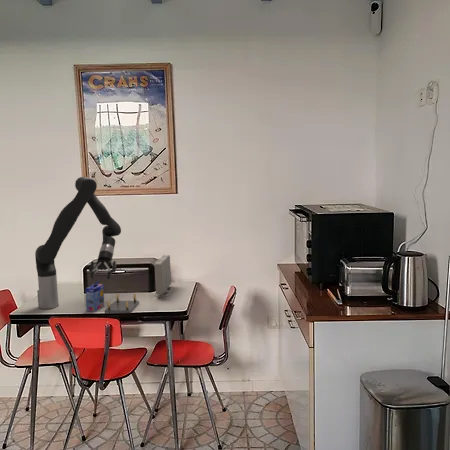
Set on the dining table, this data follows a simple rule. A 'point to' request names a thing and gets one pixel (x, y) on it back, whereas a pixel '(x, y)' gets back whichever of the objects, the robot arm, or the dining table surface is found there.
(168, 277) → the network device
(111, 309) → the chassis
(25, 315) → the dining table surface
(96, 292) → the ink cartridge box
